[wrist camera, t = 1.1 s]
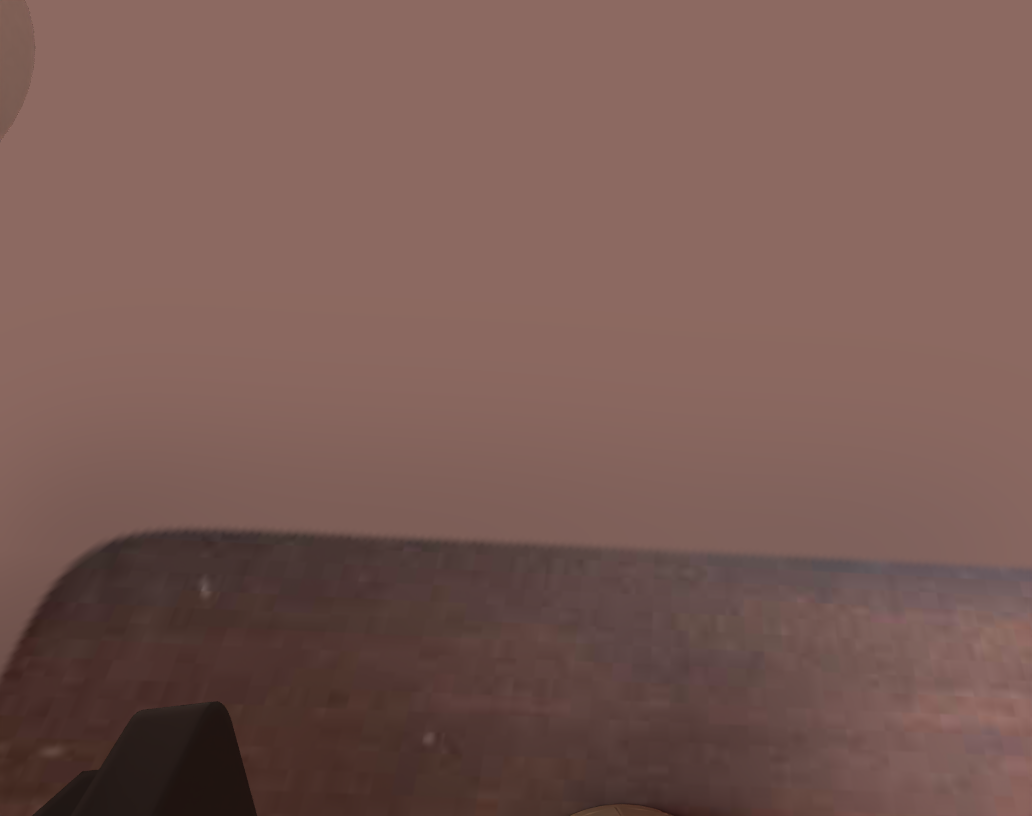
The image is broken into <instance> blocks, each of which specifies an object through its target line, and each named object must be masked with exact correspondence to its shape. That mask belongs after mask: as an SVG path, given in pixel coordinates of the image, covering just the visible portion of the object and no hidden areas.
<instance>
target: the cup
mask: <svg viewBox="0 0 1032 816" xmlns="http://www.w3.org/2000/svg"><path fill="white" fill-rule="evenodd" d="M570 816H673V815H671V814H669V813H666V812H663V811H660V810H657V809H654V808H649V807H645V806H640V805H628V804H615V805H603V806H599V807H594V808H589V809H586V810H583V811H580V812H578V813H575V814H572V815H570Z"/></svg>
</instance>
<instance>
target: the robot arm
mask: <svg viewBox="0 0 1032 816" xmlns="http://www.w3.org/2000/svg"><path fill="white" fill-rule="evenodd" d="M33 816H257V814H256V810H255V806H254V803H253V799H252V795H251V792H250V788H249V784H248V780H247V777H246V773H245V769H244V766H243V762H242V758H241V754H240V751H239V747H238V743H237V740H236V736H235V732H234V728H233V725H232V721H231V718H230V716H229V713H228V711H227V709H226V708H225V706H224V705H223V704H221V703H220V702H207V703H198V704H190V705H181V706H173V707H164V708H155V709H147V710H141V711H139V712H137V713H136V714H135V715H134V716H133V717H132V718H131V720H130V721H129V723H128V724H127V726H126V727H125V729H124V731H123V732H122V734H121V735H120V737H119V739H118V740H117V742H116V743H115V745H114V747H113V748H112V750H111V752H110V753H109V755H108V756H107V758H106V760H105V761H104V763H103V764H102V766H101V768H100V769H99V770H92V771H83V772H81V773H80V774H79V775H78V776H77V777H76V778H74V779H73V780H72V781H71V782H70V783H69V784H68V785H66V786H65V787H64V788H63V789H62V790H61V791H60V792H59V793H57V794H56V795H55V796H54V797H53V798H52V799H51V800H49V801H48V802H47V803H46V804H45V805H44V806H43V807H41V808H40V809H39V810H38V811H37V812H36V813H35V814H34V815H33Z"/></svg>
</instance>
